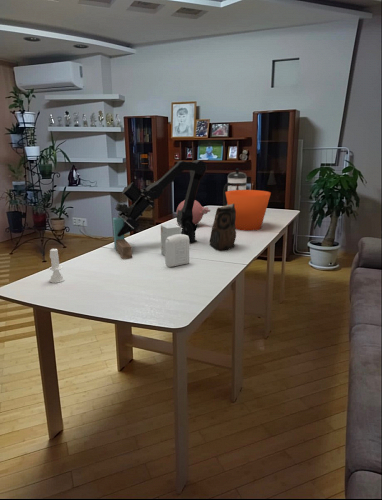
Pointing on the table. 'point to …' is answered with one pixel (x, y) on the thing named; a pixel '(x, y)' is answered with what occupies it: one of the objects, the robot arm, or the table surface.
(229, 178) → the coffee press
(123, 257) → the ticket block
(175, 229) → the small box
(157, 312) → the table surface
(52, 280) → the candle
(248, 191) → the flowerpot
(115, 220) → the tall teal pillar
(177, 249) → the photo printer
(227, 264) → the table surface
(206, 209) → the balloon
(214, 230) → the owl
